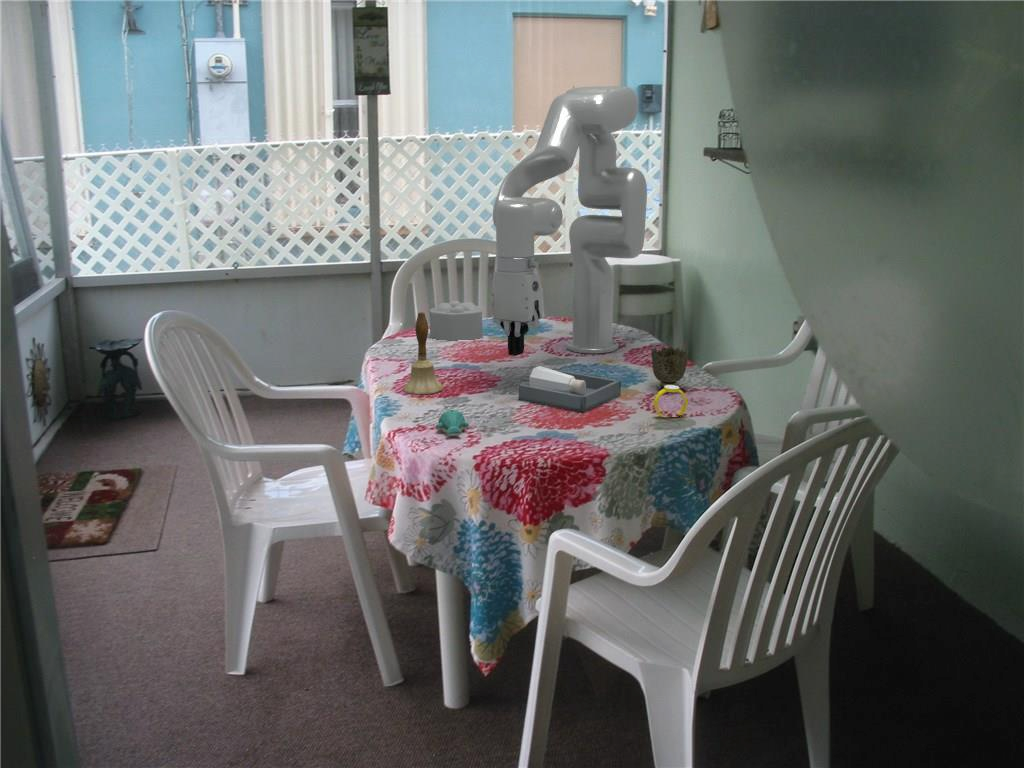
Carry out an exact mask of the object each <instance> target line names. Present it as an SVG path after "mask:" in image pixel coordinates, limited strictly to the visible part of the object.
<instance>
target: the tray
mask: <svg viewBox="0 0 1024 768" xmlns="http://www.w3.org/2000/svg"><path fill="white" fill-rule="evenodd" d="M555 371H558V372H561V373H565V374H568V375H571V376H574V378H575V379H576V380H584V381H585V383H586V389H585V392H584V393H583V394H579V393H575V392H573V393H572V394H570V393H565V392H560V391H554V390H549V389H544V388H539V387H533V386H529V385H527V384H522V383H520V384H518V401H522V402H527V403H534V404H538V405H542V406H543V405H544V406H548V407H552V408H553V407H554V408H558V409H563V410H568V411H572V412H578V413H583V414H584V413H586V412H588V411H591V410H593V409H594V408H596V407H598V406H601V405H603V404H606V403H607V402H609V401H612V400H613V399H615V398H618V397H620V396H621V393H622V392H621V391H622V390H621V388H622V386H621V385H622V384H621V382H622V380H618V379H613V378H605V377H601V376H595V375H588V374H583V373H577V372H572V371H566V370H561V369H556V370H555Z"/></svg>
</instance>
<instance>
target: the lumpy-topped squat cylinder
mask: <svg viewBox="0 0 1024 768" xmlns="http://www.w3.org/2000/svg"><path fill="white" fill-rule="evenodd" d="M429 335H430V336H429V337H430V339H431V338H432V339H431V340H433V339H436V340H435V341H438V340H447V341H446V342H449V341H455V342H459V341H458V340H473V341H476V340H475V339H480V338H482V339H483V310H482V309H480V306H479V305H476V304H475V303H473V302H471V301H465V302H461V301H459V300H452V301H450V302H441V303H439V304H438V305H437V307H432V308H430V310H429ZM480 340H481V339H480Z"/></svg>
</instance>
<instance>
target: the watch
mask: <svg viewBox="0 0 1024 768" xmlns="http://www.w3.org/2000/svg"><path fill="white" fill-rule="evenodd" d="M667 392H668V393H679V394H681V396H682V397H683V398H682V399H683V405H682V407H681V410H679V411H678V412H677V413H676V414H678V415H682V416H683V415H684V413H685V412H686V410H687V408H688V398H687V396H686V394H685V393H684V392H683V391H682V390H681V389H680V386H678V385H677V386H675V385H666V386H664V389H662V388H661V390H660V391H658V392H657V394H655V397H654V399H653V400H654V401H653V407H654V409H655V412H656V413H657V415H658V416H659V417H661V418H662V417H663V415H664V414H662V413H661V412H660V410H659V407H658V405H659V400H660V399H661V397H662V395H664V394H665V393H667Z"/></svg>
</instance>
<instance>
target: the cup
mask: <svg viewBox="0 0 1024 768" xmlns="http://www.w3.org/2000/svg"><path fill="white" fill-rule="evenodd" d="M650 354H651V364H652V371H653V372H652V373H653V375H654V377H655V378H656V379H657V380H658V381H659V387H660V389H662V388H663V389H664V386H666V385H675V386H678V385H679V384H678V382H679V381H681V380H682V379H683V378H684V376H685V373H686V369H687V363H688V356H689V351H688V350H687V349H685V348H684V347H683V348H681V349H680V347H676V348H674V347H673V346H671V345H670V346H668V347H665V346H664V345H663V346H662V347H661V348H660V350H658V349H657V348H656V347H654V348H653V349H651V351H650Z"/></svg>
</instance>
